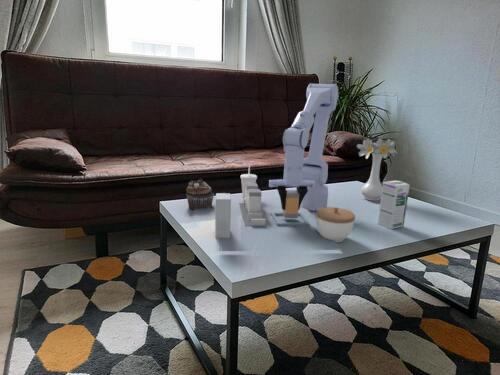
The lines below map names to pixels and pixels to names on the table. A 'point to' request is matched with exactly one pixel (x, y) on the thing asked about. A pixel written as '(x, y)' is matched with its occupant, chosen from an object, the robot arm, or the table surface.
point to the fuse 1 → (249, 186)
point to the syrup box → (393, 204)
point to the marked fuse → (291, 204)
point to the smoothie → (247, 180)
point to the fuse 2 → (254, 199)
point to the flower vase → (375, 166)
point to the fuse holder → (253, 216)
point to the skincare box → (222, 215)
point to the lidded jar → (334, 223)
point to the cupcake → (199, 195)
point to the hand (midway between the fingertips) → (290, 208)
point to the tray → (290, 223)
